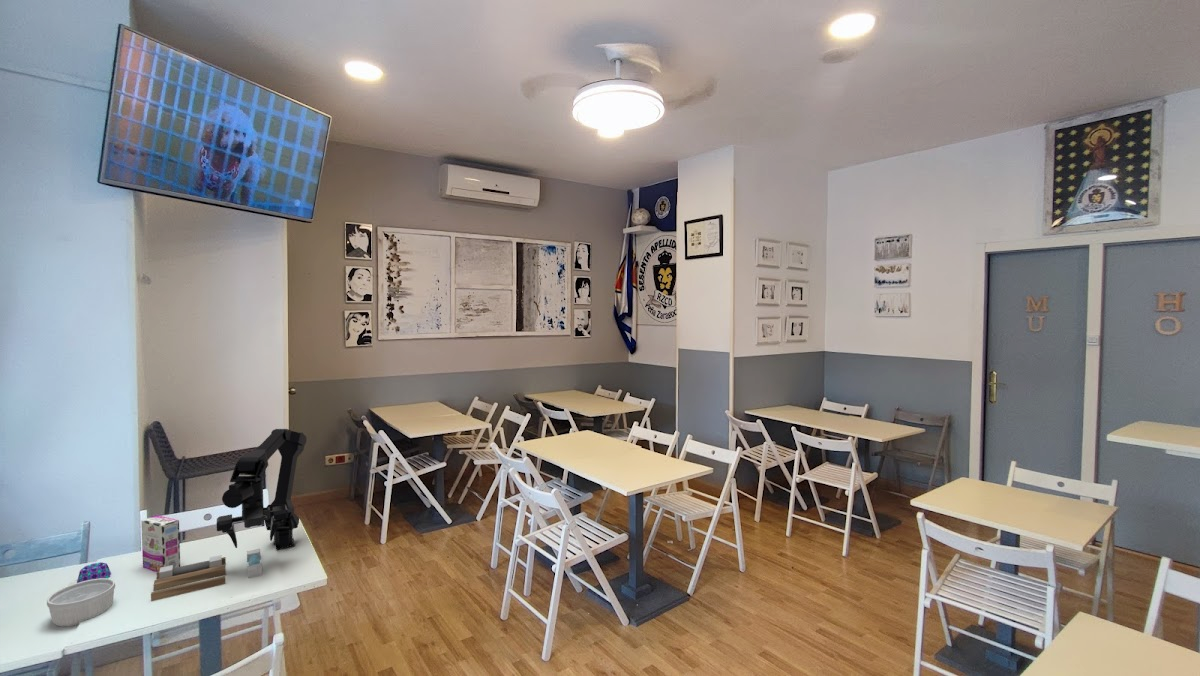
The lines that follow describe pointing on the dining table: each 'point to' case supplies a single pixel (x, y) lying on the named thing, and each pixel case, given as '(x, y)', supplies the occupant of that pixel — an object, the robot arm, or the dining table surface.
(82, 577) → the purple spotted rounded lump
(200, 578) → the walnut rack
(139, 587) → the dining table surface
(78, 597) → the ramekin
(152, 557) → the candy bar box
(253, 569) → the grey and teal bar
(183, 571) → the grey white-ended bar
